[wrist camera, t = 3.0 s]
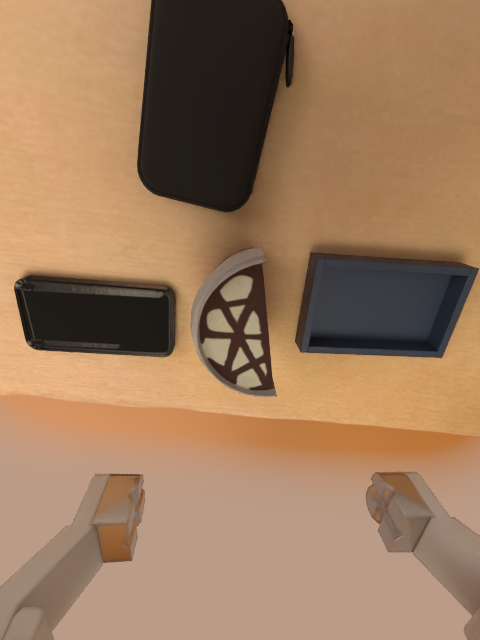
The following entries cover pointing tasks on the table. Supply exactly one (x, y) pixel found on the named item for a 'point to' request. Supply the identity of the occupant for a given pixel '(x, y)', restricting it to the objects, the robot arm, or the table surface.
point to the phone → (96, 316)
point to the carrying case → (210, 96)
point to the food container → (235, 325)
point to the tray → (381, 305)
